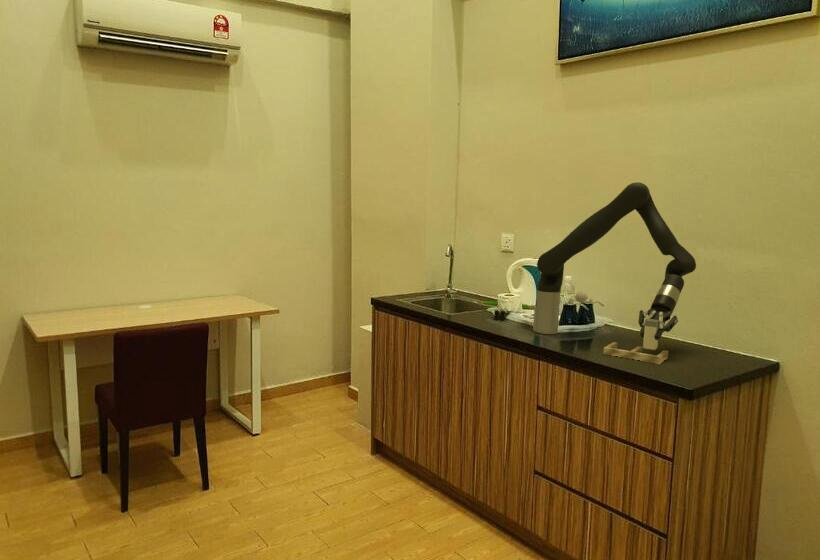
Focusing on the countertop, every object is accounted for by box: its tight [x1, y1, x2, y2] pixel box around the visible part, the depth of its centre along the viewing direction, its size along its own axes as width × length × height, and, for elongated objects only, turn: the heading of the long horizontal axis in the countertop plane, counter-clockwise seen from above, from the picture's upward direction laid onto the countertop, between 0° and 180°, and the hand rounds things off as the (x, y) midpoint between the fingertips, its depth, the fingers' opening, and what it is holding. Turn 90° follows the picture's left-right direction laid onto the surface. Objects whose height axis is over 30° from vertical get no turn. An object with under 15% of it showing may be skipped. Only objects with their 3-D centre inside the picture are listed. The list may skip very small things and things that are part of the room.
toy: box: [567, 290, 594, 305], centre depth 281 cm, size 11×7×15 cm, turn 84°
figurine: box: [476, 300, 537, 321], centre depth 298 cm, size 28×6×30 cm
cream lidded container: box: [642, 319, 659, 351], centre depth 227 cm, size 4×4×10 cm
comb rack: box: [602, 341, 669, 365], centre depth 230 cm, size 20×12×2 cm, turn 56°
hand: (648, 337), depth 226 cm, fingers closed on cream lidded container, 4 cm apart
